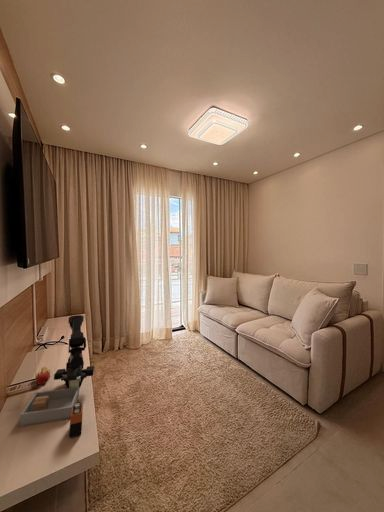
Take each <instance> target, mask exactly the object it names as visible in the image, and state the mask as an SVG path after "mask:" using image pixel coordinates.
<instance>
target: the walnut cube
mask: <svg viewBox="0 0 384 512" xmlns="http://www.w3.org/2000/svg"><path fill="white" fill-rule="evenodd" d="M48 402H49V396H41V397H37V398H36V399H35V401H34V402H33V404H32V412H34V411H41V410H46V409H47V407H48Z"/></svg>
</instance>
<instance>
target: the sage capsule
mask: <svg viewBox="0 0 384 512" xmlns="http://www.w3.org/2000/svg"><path fill="white" fill-rule="evenodd" d="M79 384H80V376H79V377H77V379H76V380H70V381H69V388H76V387H79Z"/></svg>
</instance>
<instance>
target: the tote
mask: <svg viewBox="0 0 384 512" xmlns="http://www.w3.org/2000/svg"><path fill="white" fill-rule="evenodd" d="M80 388H81V387H76V388H67V387H66V388H62V389H60V388H59V389H54V390H52V389H51V390H42V391H36V392H35V393H34V395H33V396H32V397H31V399H30V401H29V402H28V403H27V405H26V406H25V408H24V409H23V411H22V412H21V413H20V418H19V427H25V426H32V425H38V424H42V423H49V422H50V423H51V422H57V421H63V420H64V421H65V420H70V416H71V409H72V406H73V405H75V404H76V403H77V402H78V401H79V397H80ZM41 396H49V402H48V407H47V409H46V410H41V411H34V412H32V404H33V402H34V401H35V399H36V398H37V397H41Z"/></svg>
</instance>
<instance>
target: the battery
mask: <svg viewBox="0 0 384 512" xmlns="http://www.w3.org/2000/svg"><path fill="white" fill-rule="evenodd" d="M83 409H84V403H79V402H78V403H76V404H75V405H73V406H72V409H71V416H70V419H69V434H68V436H69V438H70V439H71V438H75V437H79V436H81V435H82V430H83V428H82V427H83V415H84V414H83V413H84V411H83Z"/></svg>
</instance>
